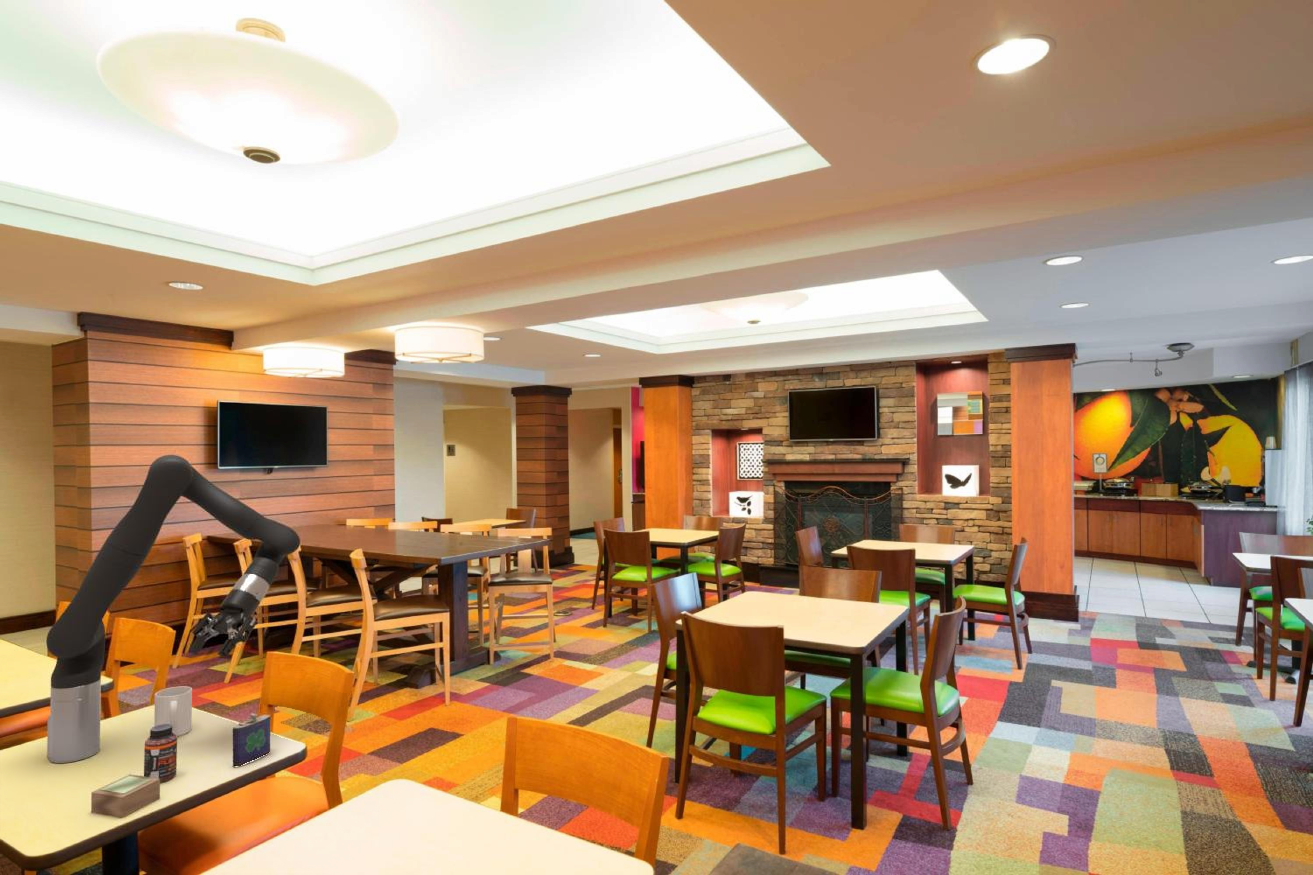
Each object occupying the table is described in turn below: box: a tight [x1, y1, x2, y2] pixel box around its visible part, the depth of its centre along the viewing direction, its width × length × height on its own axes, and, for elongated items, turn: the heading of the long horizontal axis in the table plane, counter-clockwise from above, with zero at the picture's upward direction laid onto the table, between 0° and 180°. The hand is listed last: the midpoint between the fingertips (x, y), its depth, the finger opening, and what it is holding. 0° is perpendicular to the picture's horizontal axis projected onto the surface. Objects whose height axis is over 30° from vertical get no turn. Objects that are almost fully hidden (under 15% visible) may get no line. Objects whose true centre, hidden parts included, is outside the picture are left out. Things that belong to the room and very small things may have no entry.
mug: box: [153, 686, 193, 737], centre depth 179 cm, size 12×8×10 cm, turn 34°
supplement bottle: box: [143, 724, 178, 783], centre depth 157 cm, size 6×6×11 cm
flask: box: [231, 712, 271, 767], centre depth 166 cm, size 9×3×11 cm, turn 157°
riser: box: [90, 773, 161, 819], centre depth 145 cm, size 8×8×4 cm
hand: (206, 654), depth 168 cm, fingers open, 8 cm apart
